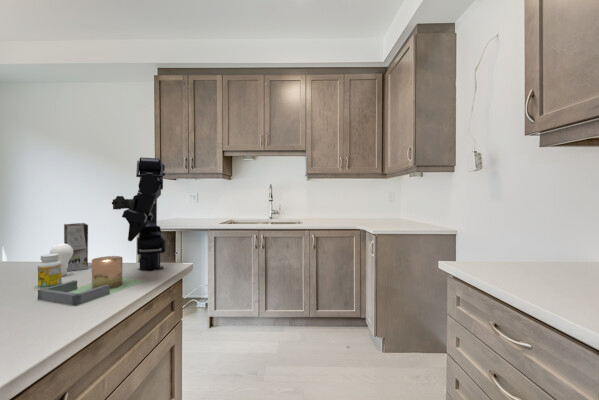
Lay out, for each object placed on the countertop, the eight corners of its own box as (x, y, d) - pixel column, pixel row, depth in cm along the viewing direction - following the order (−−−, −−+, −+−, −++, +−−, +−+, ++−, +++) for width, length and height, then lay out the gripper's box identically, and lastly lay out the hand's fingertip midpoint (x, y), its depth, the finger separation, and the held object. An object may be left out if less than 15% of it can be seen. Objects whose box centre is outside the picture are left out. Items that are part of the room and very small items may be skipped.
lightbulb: (78, 274, 102) (77, 242, 102) (62, 279, 96) (62, 245, 96) (61, 273, 103) (61, 241, 103) (44, 278, 97) (44, 244, 97)
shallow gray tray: (73, 288, 86) (73, 280, 86) (109, 293, 82) (109, 284, 82) (37, 299, 77) (37, 290, 77) (75, 305, 74) (75, 295, 73)
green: (112, 278, 98) (112, 276, 98) (146, 282, 95) (146, 280, 95) (37, 301, 77) (37, 299, 77) (76, 308, 73) (76, 305, 73)
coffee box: (88, 268, 110) (88, 224, 110) (66, 271, 106) (66, 225, 105) (84, 264, 117) (84, 222, 116) (63, 266, 113) (63, 223, 112)
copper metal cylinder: (109, 281, 94) (109, 255, 94) (128, 283, 92) (128, 257, 91) (85, 288, 87) (85, 260, 86) (105, 291, 84) (105, 262, 84)
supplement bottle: (64, 286, 90) (64, 254, 90) (42, 291, 85) (42, 257, 85) (56, 283, 92) (56, 252, 92) (34, 288, 88) (34, 255, 88)
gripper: (126, 189, 106) (110, 231, 104) (113, 184, 89) (93, 236, 87) (159, 199, 110) (144, 240, 108) (153, 197, 92) (134, 246, 90)
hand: (129, 240), depth 98 cm, fingers closed
